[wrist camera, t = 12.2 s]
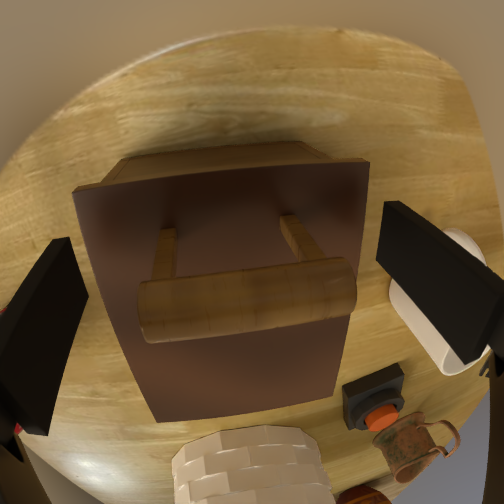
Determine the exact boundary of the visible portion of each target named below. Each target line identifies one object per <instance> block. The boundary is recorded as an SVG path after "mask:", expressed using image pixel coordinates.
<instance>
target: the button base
mask: <svg viewBox="0 0 504 504" xmlns="http://www.w3.org/2000/svg"><path fill="white" fill-rule="evenodd" d="M404 375H405V374H404V373H403V371H402V369H401V368H400V366H399V365H398V363H396V364H393V365H391V366H389V367H387V368H384V369H382V370H380V371H378V372H375V373H373V374H370V375H368V376H366V377H363V378H361V379H358V380H356V381H353V382H351V383H348V384H346V385H343V386H342V391H343V409H344V421H345V423H346V425H347V428H348V430H351V429H354V428H356V429H359V430H367V429H368V426H367V424H366V422H365V418H366V417H367V416H368V415H369V414H370V413H372V412H373V411H375V410H376V409H378V408H380V407H382V406H384V405H388V404H393V405H394V406H395V408H396V410H397V412H399V411H400V410H401V409H402V408H403V405H404V402H405V401H404V399H403V397H402V395H401V390H402V385H403V380H404Z"/></svg>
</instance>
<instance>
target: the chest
mask: <svg viewBox="0 0 504 504" xmlns="http://www.w3.org/2000/svg"><path fill="white" fill-rule="evenodd" d="M307 159H333V158H331V157H329V156H328V155H326V154H324V153H322V152H321V151H319V150H317V149H315V148H313V147H312V146H310V145H308V144H306V143H304V142H302V141H288V142H268V143H252V144H238V145H226V146H215V147H206V148H196V149H188V150H179V151H172V152H164V153H157V154H150V155H143V156H137V157H131V158H125V159H121V160H120V161H119V162H118V163H117V164H116V165H115V166H114V168H113V169H112V170H111V171H110V172H109V173H108V174H107V175H106V176H105V178H104V179H103V180H102V181H101V182H105V181H111V180H117V179H123V178H129V177H135V176H142V175H149V174H156V173H163V172H170V171H178V170H186V169H195V168H204V167H213V166H223V165H233V164H245V163H257V162H271V161H288V160H307Z"/></svg>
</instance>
